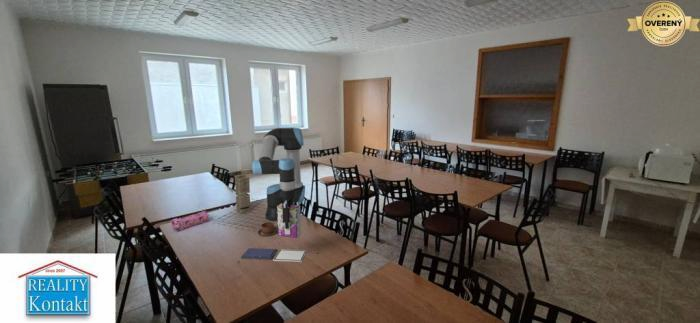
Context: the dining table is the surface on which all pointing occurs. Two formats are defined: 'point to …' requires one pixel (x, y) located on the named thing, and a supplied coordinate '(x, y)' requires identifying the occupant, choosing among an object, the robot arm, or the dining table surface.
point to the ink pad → (259, 253)
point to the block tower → (242, 193)
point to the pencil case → (190, 221)
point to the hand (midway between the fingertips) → (289, 231)
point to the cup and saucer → (267, 229)
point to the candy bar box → (293, 219)
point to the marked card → (290, 255)
